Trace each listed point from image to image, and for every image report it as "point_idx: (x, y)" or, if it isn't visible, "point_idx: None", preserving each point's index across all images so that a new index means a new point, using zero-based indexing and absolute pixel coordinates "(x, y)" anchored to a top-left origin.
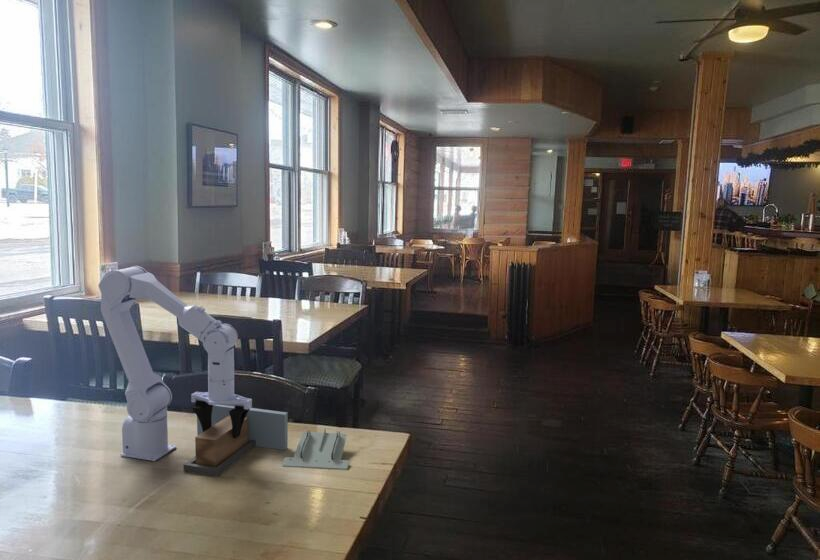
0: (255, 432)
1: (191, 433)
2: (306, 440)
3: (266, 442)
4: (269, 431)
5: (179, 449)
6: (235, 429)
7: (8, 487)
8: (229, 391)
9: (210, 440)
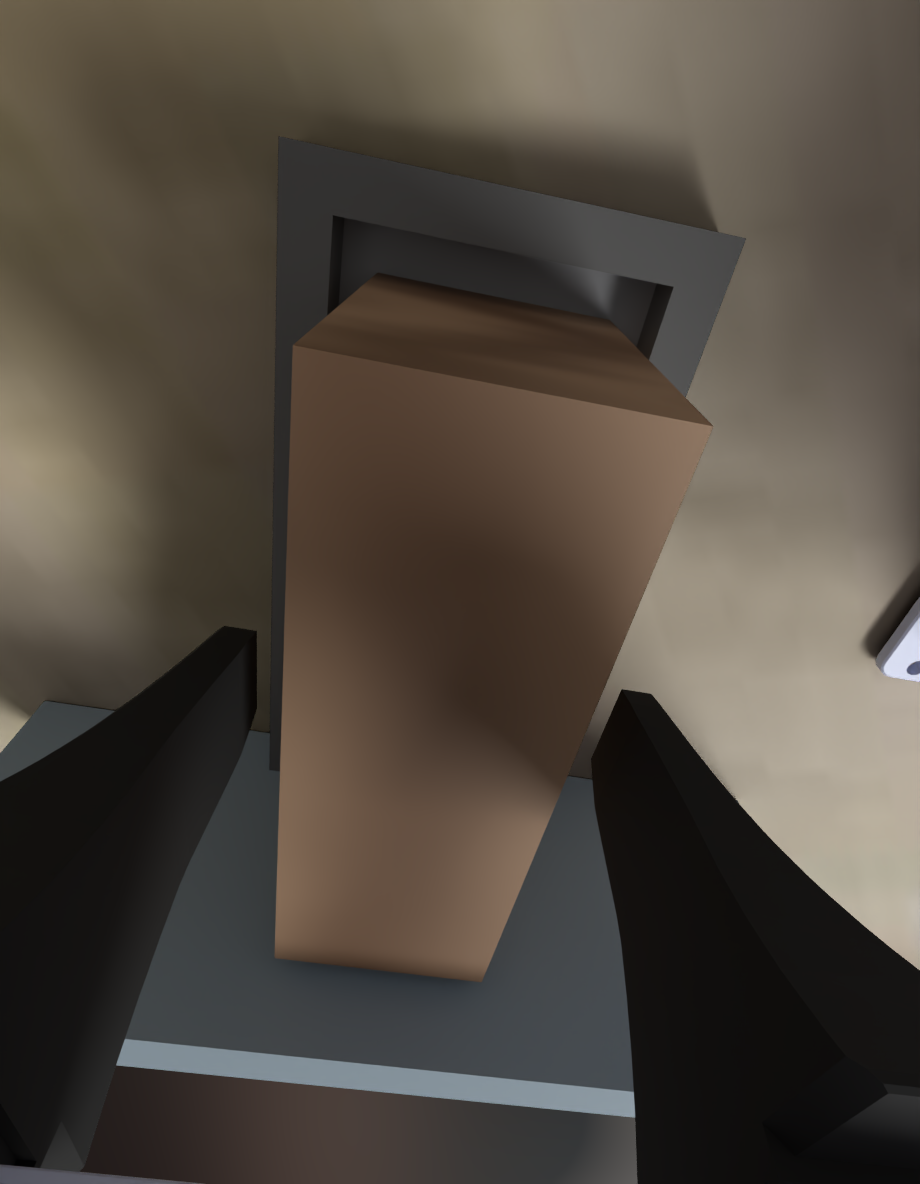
0: (252, 824)
1: (791, 840)
2: None
3: None
4: None
5: (840, 643)
6: (141, 694)
7: None
8: None
9: (400, 362)
